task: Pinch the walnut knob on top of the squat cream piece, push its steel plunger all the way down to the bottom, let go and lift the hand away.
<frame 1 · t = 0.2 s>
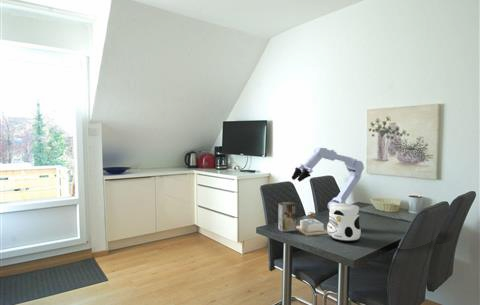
hand: (295, 179, 180), 30 cm above the table, tool tilted 45°, fingers open, 7 cm apart
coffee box: (287, 230, 183), on the table
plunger: (311, 218, 183), point 7 cm above the table, slide at 0.0 cm
cream piece: (311, 230, 183), on the table
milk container: (343, 238, 168), on the table
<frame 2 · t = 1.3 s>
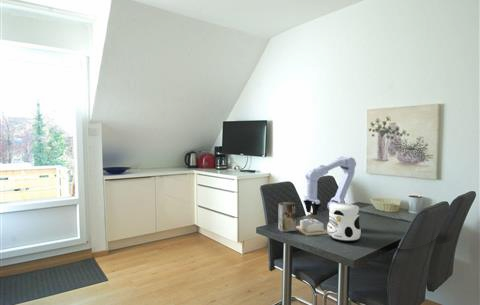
hand: (311, 213, 183), 10 cm above the table, tool pointing down, fingers open, 7 cm apart
nothing on the table moved.
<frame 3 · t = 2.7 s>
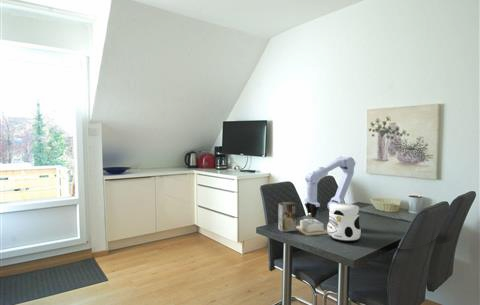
hand: (311, 216, 183), 8 cm above the table, tool pointing down, fingers closed on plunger, 4 cm apart
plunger: (311, 218, 183), point 7 cm above the table, slide at 0.0 cm, touching gripper
everything else where it was.
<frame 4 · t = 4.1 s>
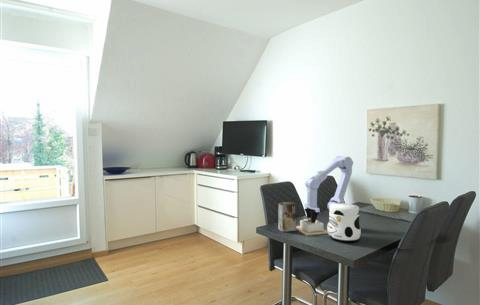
hand: (311, 221, 183), 5 cm above the table, tool pointing down, fingers closed on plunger, 4 cm apart
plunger: (311, 223, 183), point 4 cm above the table, slide at 3.1 cm, touching gripper
everything else where it was.
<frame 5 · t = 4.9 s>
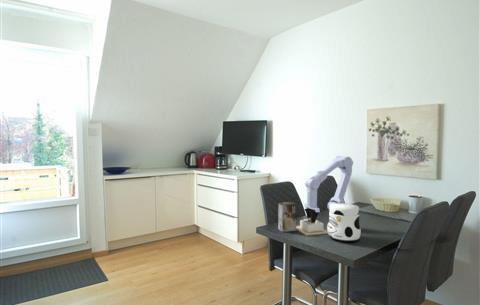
hand: (311, 221, 183), 5 cm above the table, tool pointing down, fingers closed on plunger, 4 cm apart
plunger: (311, 223, 183), point 4 cm above the table, slide at 3.1 cm, touching gripper
everything else where it was.
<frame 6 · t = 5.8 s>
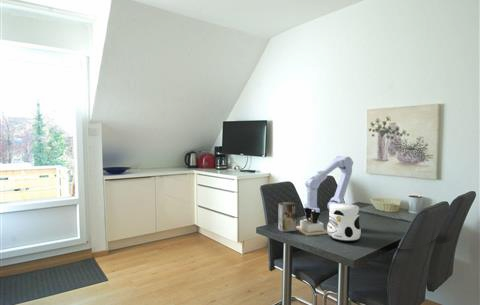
hand: (311, 221, 183), 5 cm above the table, tool pointing down, fingers open, 7 cm apart
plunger: (311, 223, 183), point 4 cm above the table, slide at 3.0 cm
everything else where it was.
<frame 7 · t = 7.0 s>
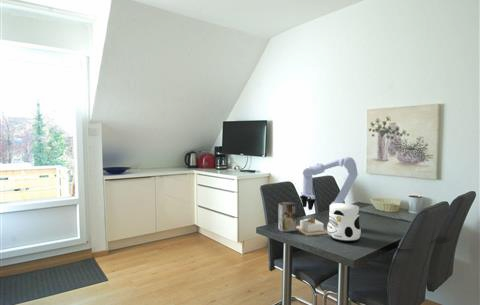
hand: (307, 208, 194), 10 cm above the table, tool pointing down, fingers open, 7 cm apart
nothing on the table moved.
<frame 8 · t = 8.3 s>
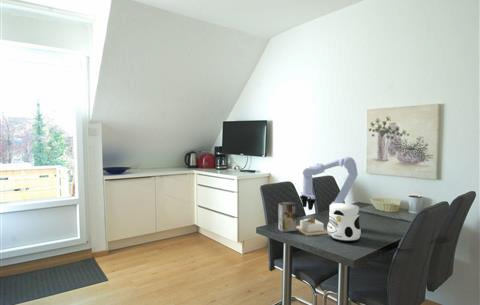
hand: (307, 208, 194), 10 cm above the table, tool pointing down, fingers open, 7 cm apart
nothing on the table moved.
at the end: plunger slide at 3.0 cm; the gripper is holding nothing; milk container moved 0.3 cm from its start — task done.
